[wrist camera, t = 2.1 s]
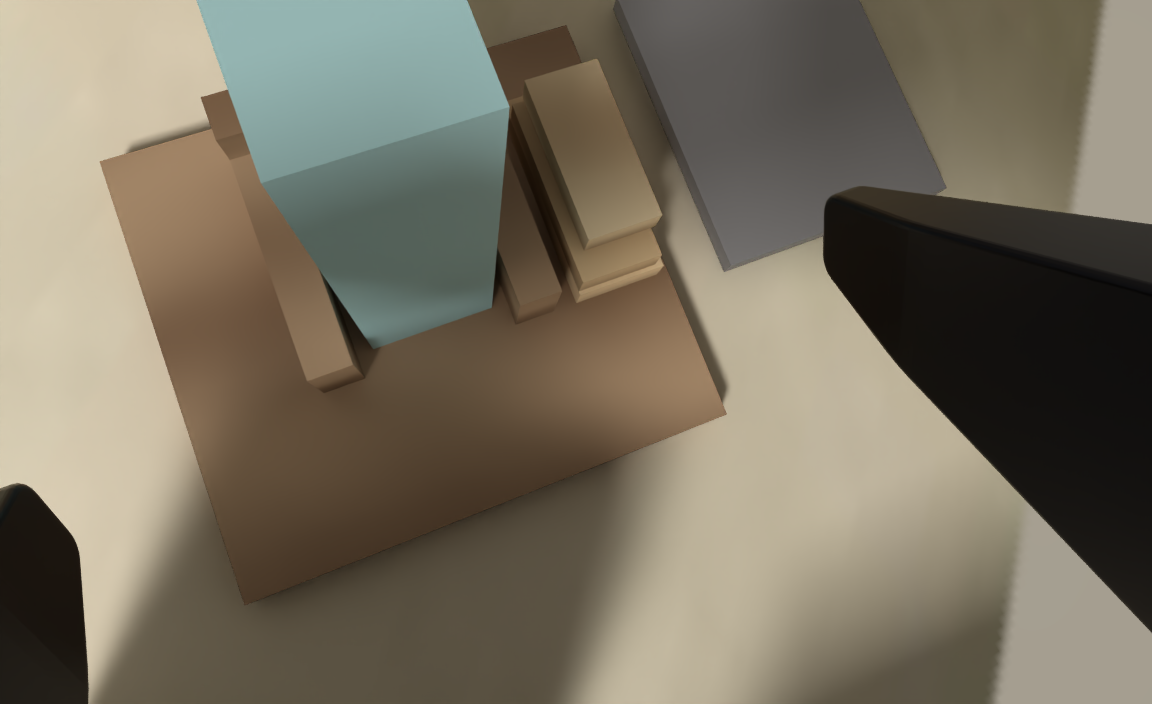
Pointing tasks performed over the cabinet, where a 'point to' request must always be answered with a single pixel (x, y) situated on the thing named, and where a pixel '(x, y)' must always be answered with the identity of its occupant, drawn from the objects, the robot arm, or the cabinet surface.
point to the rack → (420, 362)
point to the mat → (774, 113)
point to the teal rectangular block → (375, 147)
